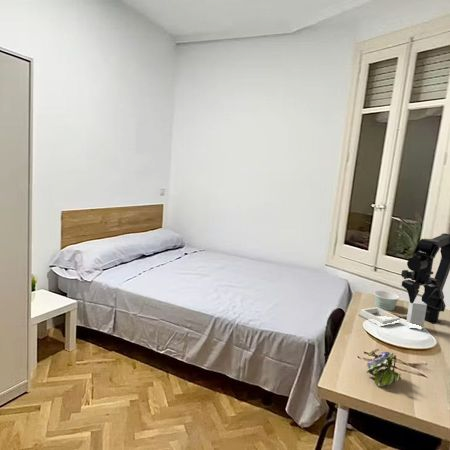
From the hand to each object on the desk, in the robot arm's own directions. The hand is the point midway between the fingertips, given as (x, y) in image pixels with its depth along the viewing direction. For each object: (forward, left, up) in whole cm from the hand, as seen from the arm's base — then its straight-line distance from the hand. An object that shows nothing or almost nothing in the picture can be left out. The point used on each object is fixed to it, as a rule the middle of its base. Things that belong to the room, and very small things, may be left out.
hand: (418, 301), depth 161 cm
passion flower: (+48, +24, -12) cm, 55 cm away
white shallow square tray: (+9, -11, -12) cm, 19 cm away
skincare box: (0, 0, -12) cm, 12 cm away
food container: (-7, -22, -12) cm, 26 cm away
